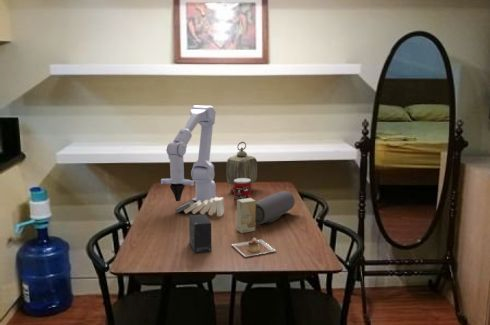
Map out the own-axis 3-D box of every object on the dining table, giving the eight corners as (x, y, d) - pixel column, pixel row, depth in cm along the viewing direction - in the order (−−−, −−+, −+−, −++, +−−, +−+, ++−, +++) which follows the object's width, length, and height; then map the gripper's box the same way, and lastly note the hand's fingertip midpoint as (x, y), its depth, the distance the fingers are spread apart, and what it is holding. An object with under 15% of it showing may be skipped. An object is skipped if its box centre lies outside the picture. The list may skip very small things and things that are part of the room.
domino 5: (208, 214, 203) (213, 199, 201) (211, 211, 207) (216, 196, 205) (211, 215, 203) (216, 200, 201) (214, 212, 207) (219, 198, 205)
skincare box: (241, 233, 182) (241, 202, 179) (236, 230, 185) (235, 199, 183) (256, 230, 184) (256, 200, 182) (250, 227, 188) (250, 197, 186)
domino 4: (200, 212, 204) (208, 200, 202) (203, 209, 208) (212, 197, 206) (202, 215, 204) (211, 202, 202) (206, 211, 208) (215, 199, 206)
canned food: (231, 204, 218) (231, 181, 216) (238, 200, 225) (237, 177, 223) (247, 206, 215) (246, 182, 213) (253, 201, 222) (253, 178, 220)
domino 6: (217, 216, 202) (216, 200, 201) (220, 212, 206) (219, 197, 205) (220, 216, 202) (220, 200, 200) (223, 213, 206) (223, 197, 205)
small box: (213, 251, 165) (212, 222, 162) (194, 254, 163) (193, 224, 161) (206, 240, 175) (205, 213, 172) (188, 242, 173) (187, 215, 171)
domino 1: (175, 209, 207) (188, 203, 204) (179, 206, 211) (192, 200, 209) (177, 213, 207) (190, 206, 204) (180, 210, 211) (193, 203, 209)
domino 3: (191, 211, 205) (203, 202, 203) (195, 208, 209) (206, 199, 207) (194, 214, 205) (205, 204, 203) (197, 211, 209) (208, 202, 207)
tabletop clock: (243, 186, 249) (243, 139, 244) (258, 189, 244) (258, 140, 238) (226, 193, 237) (225, 143, 232) (241, 196, 232) (241, 144, 227)
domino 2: (183, 210, 206) (196, 202, 203) (187, 207, 210) (199, 199, 208) (185, 213, 206) (198, 206, 203) (189, 210, 210) (201, 203, 208)
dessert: (244, 259, 159) (244, 246, 158) (230, 247, 170) (230, 234, 169) (276, 253, 164) (276, 240, 163) (261, 242, 175) (261, 229, 174)
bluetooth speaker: (277, 210, 210) (277, 188, 207) (295, 214, 204) (296, 191, 202) (247, 224, 191) (246, 200, 189) (266, 229, 186) (266, 204, 184)
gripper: (157, 171, 203) (158, 202, 206) (189, 172, 199) (190, 204, 202) (164, 167, 210) (165, 197, 212) (195, 169, 206) (196, 199, 209)
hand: (178, 200), depth 208 cm, fingers closed
